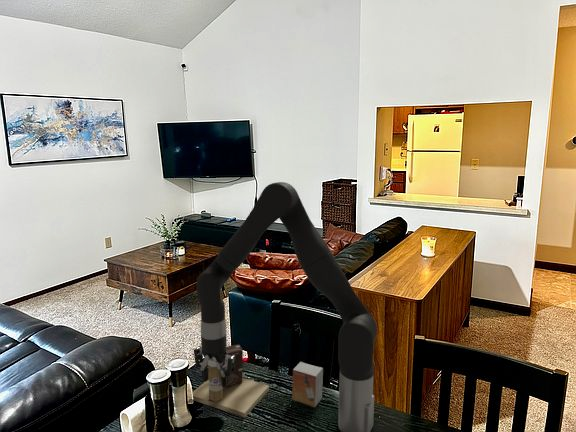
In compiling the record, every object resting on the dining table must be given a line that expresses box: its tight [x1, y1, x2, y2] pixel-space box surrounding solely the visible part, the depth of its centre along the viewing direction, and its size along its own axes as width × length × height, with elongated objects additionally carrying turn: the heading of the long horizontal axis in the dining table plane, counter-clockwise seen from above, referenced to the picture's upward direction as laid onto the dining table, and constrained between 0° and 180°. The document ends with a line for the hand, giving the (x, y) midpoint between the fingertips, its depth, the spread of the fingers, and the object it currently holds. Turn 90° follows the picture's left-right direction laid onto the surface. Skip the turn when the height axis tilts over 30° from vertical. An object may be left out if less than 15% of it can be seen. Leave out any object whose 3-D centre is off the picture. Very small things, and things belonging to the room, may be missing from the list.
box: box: [224, 343, 244, 387], centre depth 136 cm, size 6×4×12 cm
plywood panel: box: [192, 377, 270, 418], centre depth 133 cm, size 20×15×2 cm
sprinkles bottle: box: [208, 358, 223, 401], centre depth 128 cm, size 5×5×14 cm
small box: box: [291, 361, 324, 408], centre depth 130 cm, size 8×6×10 cm
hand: (215, 383), depth 128 cm, fingers open, 6 cm apart
